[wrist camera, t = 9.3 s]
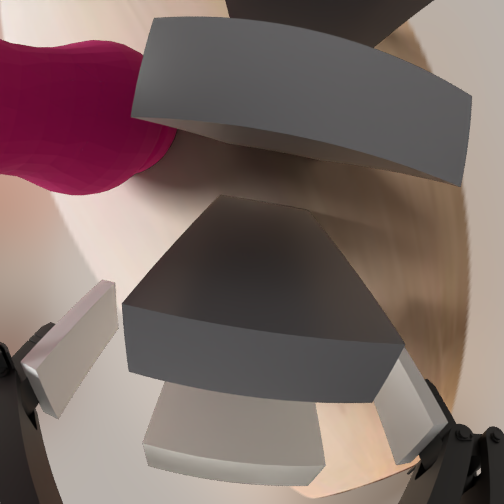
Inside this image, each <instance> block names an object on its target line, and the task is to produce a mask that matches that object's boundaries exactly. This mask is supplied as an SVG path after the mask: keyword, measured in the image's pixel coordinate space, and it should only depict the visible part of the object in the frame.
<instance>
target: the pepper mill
mask: <svg viewBox="0 0 504 504" xmlns="http://www.w3.org/2000/svg"><path fill="white" fill-rule="evenodd" d="M142 59H143V55H142V54H141V53H139V52H137V51H135V50H133V49H132V48H130V47H128V46H126V45H124V44H120V43H116V42H112V41H100V40H90V41H83V42H78V43H72V44H68V45H64V46H58V47H32V46H26V45H20V44H13V43H9V42H6V41H4V40H1V39H0V174H5V175H12V176H18V177H20V178H23V179H25V180H27V181H29V182H32V183H34V184H36V185H38V186H40V187H43V188H45V189H47V190H49V191H53V192H58V193H63V194H68V195H88V194H95V193H100V192H104V191H108V190H110V189H112V188H115V187H117V186H119V185H120V184H122V183H124V182H125V181H126V180H128V179H129V178H130V177H132V176H133V175H134V174H136V173H140V172H142V171H144V170H146V169H148V168H150V167H151V166H153V165H154V164H156V163H157V162H158V161H159V160H160V159H161V158H162V157H163V156H164V155H165V153H166V152H167V151H168V149H169V148H170V146H171V144H172V142H173V140H174V138H175V135H176V131H177V128H173V127H169V126H166V125H162V124H158V123H154V122H150V121H145V120H141V119H137V118H133V117H131V112H132V106H133V100H134V95H135V90H136V85H137V80H138V76H139V71H140V67H141V63H142Z"/></svg>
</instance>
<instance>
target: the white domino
mask: <svg viewBox="0 0 504 504" xmlns="http://www.w3.org/2000/svg"><path fill="white" fill-rule="evenodd" d="M143 447H144V451H145V455H146V459H147V462H148V466H150V467H154V468H158V469H162V470H166V471H170V472H174V473H179V474H183V475H189V476H193V477H199V478H205V479H210V480H217V481H224V482H232V483H242V484H255V485H271V486H272V485H274V486H308V485H309V484H310V483H311V482H312V481H313V480H314V479H315V477H316V476H317V475H318V474H319V473H320V472H321V471H322V469H323V468H324V467H325V466H326V464H325V458H324V451H323V445H322V439H321V433H320V427H319V421H318V416H317V410H316V404H315V402H301V401H287V400H276V399H266V398H257V397H249V396H241V395H234V394H228V393H221V392H215V391H210V390H204V389H199V388H194V387H189V386H184V385H180V384H175V383H171V382H167V381H165V382H164V385H163V388H162V391H161V393H160V396H159V398H158V401H157V404H156V407H155V409H154V412H153V415H152V418H151V420H150V423H149V426H148V429H147V432H146V435H145V438H144V440H143Z"/></svg>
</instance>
